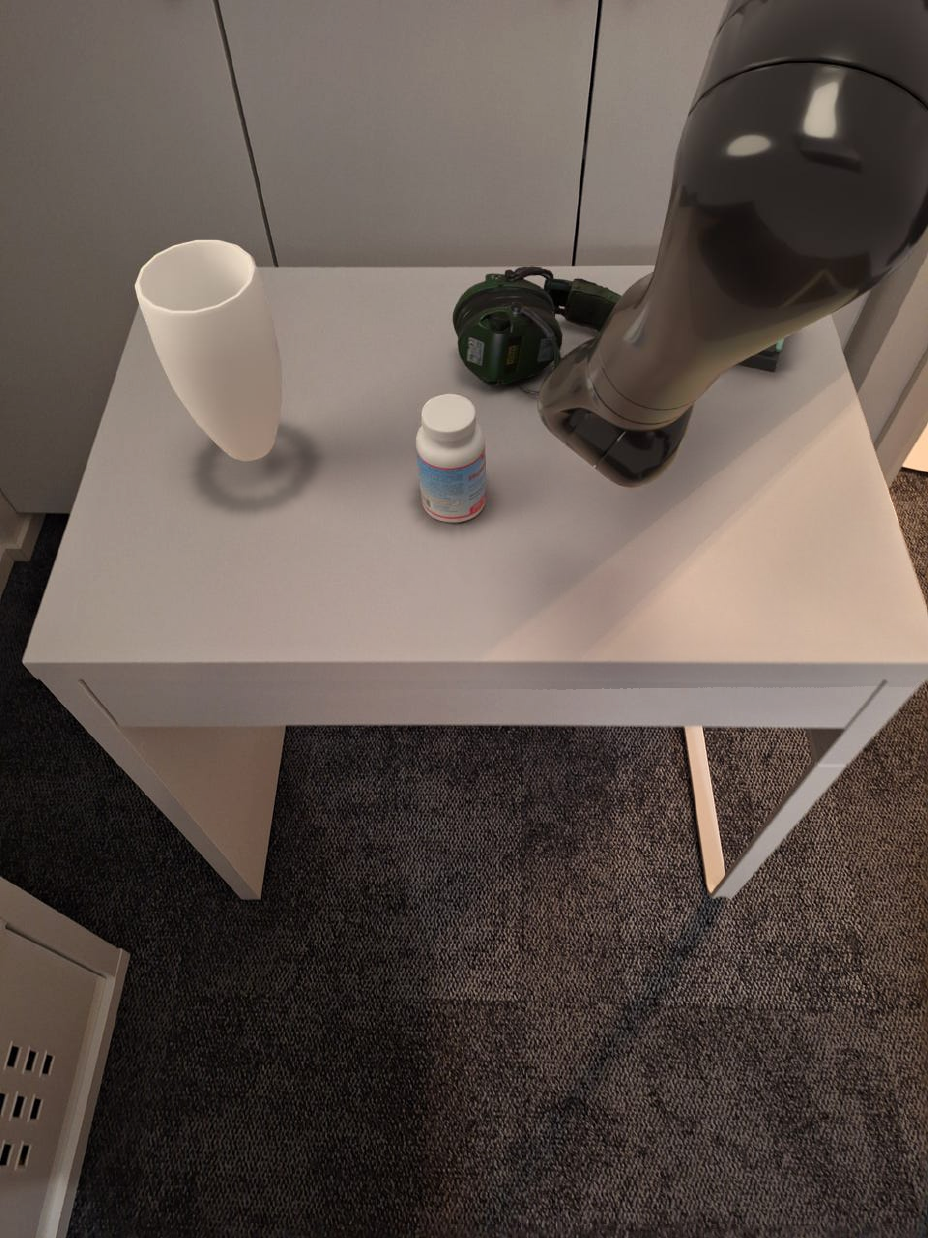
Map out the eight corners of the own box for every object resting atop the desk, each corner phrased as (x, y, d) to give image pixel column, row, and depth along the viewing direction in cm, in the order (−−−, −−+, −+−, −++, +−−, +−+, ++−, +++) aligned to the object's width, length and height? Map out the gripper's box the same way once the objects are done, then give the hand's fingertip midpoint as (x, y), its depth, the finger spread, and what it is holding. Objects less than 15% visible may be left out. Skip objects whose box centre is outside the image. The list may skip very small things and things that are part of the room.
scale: (785, 332, 98) (790, 315, 96) (774, 372, 94) (779, 355, 93) (723, 320, 99) (727, 302, 97) (710, 359, 96) (714, 342, 94)
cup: (327, 476, 89) (283, 286, 71) (228, 521, 86) (156, 335, 68) (283, 412, 94) (231, 220, 76) (187, 453, 91) (110, 263, 73)
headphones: (471, 398, 86) (672, 396, 89) (469, 247, 83) (675, 252, 87) (447, 405, 99) (623, 404, 102) (444, 275, 96) (625, 278, 100)
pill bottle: (486, 525, 85) (484, 437, 75) (420, 525, 85) (410, 438, 75) (486, 476, 88) (484, 386, 79) (423, 477, 88) (414, 387, 79)
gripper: (816, 278, 66) (898, 167, 73) (638, 217, 71) (732, 119, 78) (789, 361, 72) (867, 250, 80) (627, 300, 77) (715, 201, 84)
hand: (800, 186), depth 79 cm, fingers closed on supplement bottle, 5 cm apart
